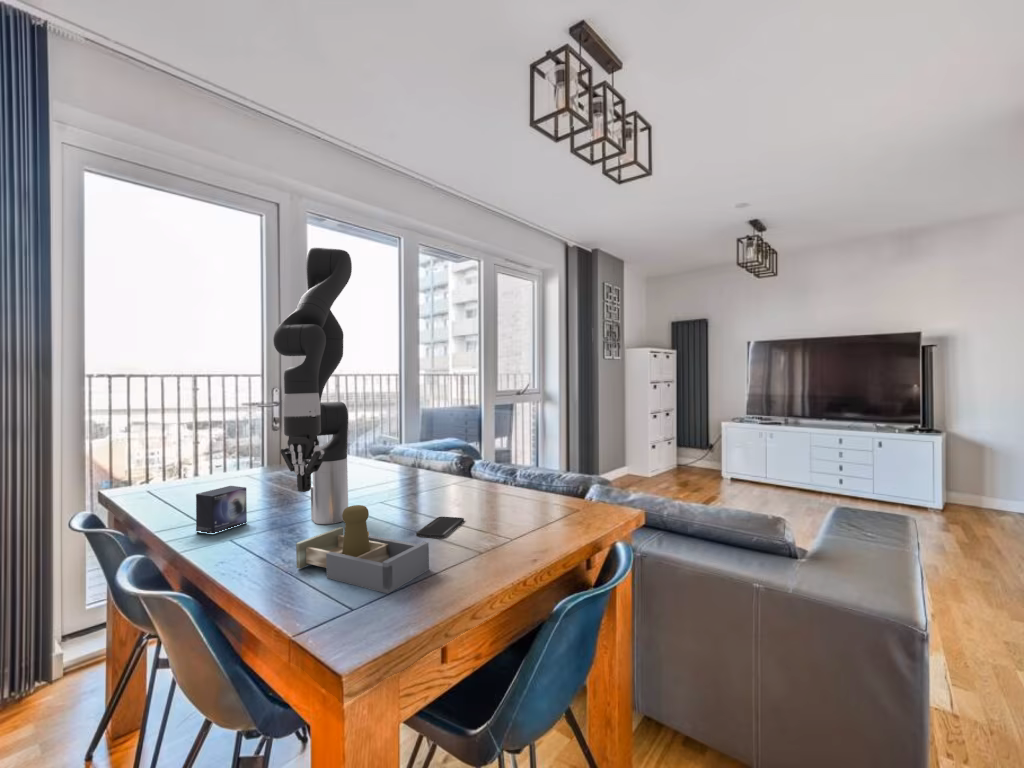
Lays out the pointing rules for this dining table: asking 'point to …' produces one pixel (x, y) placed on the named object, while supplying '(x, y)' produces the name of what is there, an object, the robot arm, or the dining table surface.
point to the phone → (440, 527)
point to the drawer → (333, 549)
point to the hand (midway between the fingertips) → (304, 491)
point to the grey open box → (381, 566)
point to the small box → (221, 509)
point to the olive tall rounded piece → (355, 531)
